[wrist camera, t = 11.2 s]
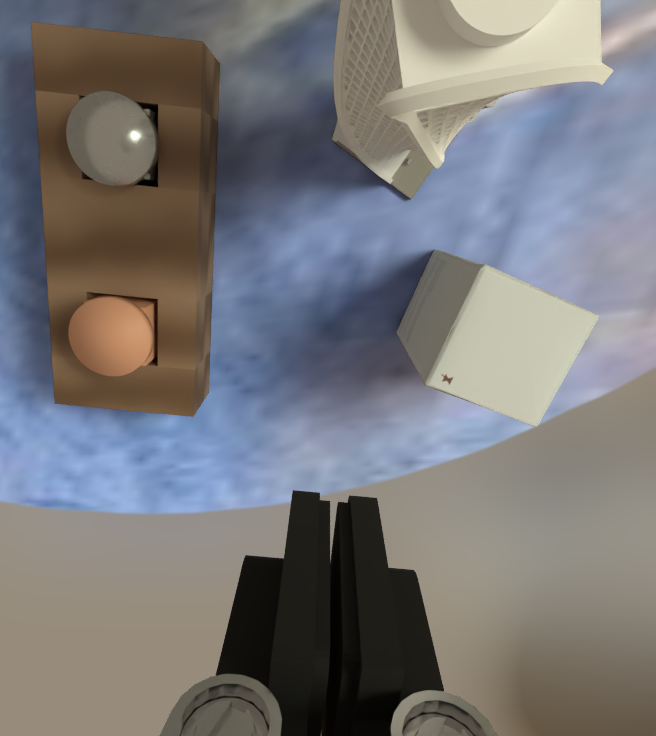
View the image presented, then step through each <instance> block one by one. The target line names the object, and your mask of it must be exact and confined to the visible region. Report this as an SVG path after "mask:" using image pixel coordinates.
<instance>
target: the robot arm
mask: <svg viewBox="0 0 656 736" xmlns="http://www.w3.org/2000/svg"><path fill="white" fill-rule="evenodd" d="M160 736H498V735H497V733H496V732H495V730H494V729H493V727H492V725H491V724H490V722H489V720H488V719H487V718H486V717H485V716H484V715H483V714H481V712H480V711H479V710H478V709H477V708H476V707H474V706H473V705H471V704H470V703H468V702H467V701H465V700H463V699H462V698H460V697H458V696H455V695H452V694H450V693H447V692H444V688H443V684H442V680H441V676H440V672H439V667H438V663H437V659H436V655H435V650H434V646H433V642H432V637H431V633H430V629H429V625H428V620H427V616H426V612H425V608H424V604H423V599H422V595H421V591H420V586H419V583H418V578H417V575H416V572H415V571H414V570H407V569H395V568H388V563H387V556H386V551H385V544H384V538H383V532H382V526H381V519H380V514H379V507H378V501H377V498H369V497H359V496H349V499H348V503H344V502H338V506H337V513H336V521H335V529H334V537H333V546H332V554H331V562H330V501H322V500H320V493H316V492H305V491H294V490H293V493H292V501H291V509H290V516H289V524H288V532H287V540H286V548H285V555H284V559H282V558H270V557H259V556H247V555H246V556H245V558H244V561H243V565H242V569H241V574H240V578H239V582H238V586H237V590H236V594H235V598H234V602H233V607H232V611H231V615H230V619H229V623H228V628H227V631H226V635H225V639H224V644H223V648H222V652H221V656H220V660H219V665H218V668H217V672H216V676H213V677H209V678H208V679H205V680H203V681H201V682H199V683H197V684H195V685H194V686H192V687H191V688H190V689H189V690H188V691H187V692H185V693H184V694H183V695H182V696H181V697H180V699H179V700H178V702H177V703H176V705H175V706H174V708H173V709H172V711H171V713H170V715H169V717H168V719H167V721H166V723H165V725H164V728H163V730H162V732H161V734H160Z"/></svg>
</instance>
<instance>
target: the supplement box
mask: <svg viewBox="0 0 656 736" xmlns="http://www.w3.org/2000/svg"><path fill="white" fill-rule="evenodd" d="M598 318H599V316H598V315H596V314H594V313H592V312H590V311H587V310H585V309H583V308H581V307H579V306H577V305H574V304H572V303H570V302H568V301H566V300H564V299H562V298H559V297H557V296H555V295H553V294H551V293H548V292H546V291H544V290H542V289H540V288H538V287H535V286H533V285H531V284H529V283H526V282H524V281H522V280H520V279H517V278H515V277H513V276H511V275H508V274H506V273H504V272H501V271H499V270H497V269H495V268H492V267H490V266H488V265H485V264H479V263H476V262H473V261H470V260H467V259H464V258H461V257H459V256H456V255H453V254H450V253H447V252H443V251H440V250H434V251H433V253H432V255H431V257H430V259H429V262H428V264H427V266H426V268H425V270H424V272H423V274H422V277H421V279H420V281H419V283H418V285H417V288H416V290H415V292H414V294H413V297H412V299H411V301H410V303H409V306H408V308H407V310H406V312H405V314H404V317H403V319H402V321H401V323H400V326H399V328H398V330H397V332H396V333H397V335H398V337H399V339H400V341H401V342H402V344H403V346H404V348H405V350H406V352H407V353H408V355H409V357H410V359H411V361H412V362H413V364H414V366H415V368H416V370H417V372H418V373H419V375H420V377H421V379H422V381H423V383H424V384H425V386H428V387H431V388H433V389H436V390H439V391H442V392H444V393H447V394H450V395H452V396H455V397H458V398H461V399H463V400H466V401H469V402H472V403H474V404H477V405H480V406H482V407H485V408H488V409H491V410H493V411H496V412H498V413H501V414H504V415H506V416H509V417H511V418H514V419H517V420H519V421H522V422H524V423H527V424H530V425H532V426H538V424H539V422H540V421H541V419H542V417H543V415H544V413H545V412H546V410H547V408H548V406H549V404H550V403H551V401H552V399H553V397H554V396H555V394H556V392H557V390H558V389H559V387H560V385H561V383H562V382H563V380H564V378H565V376H566V375H567V373H568V371H569V369H570V367H571V366H572V364H573V362H574V360H575V359H576V357H577V355H578V353H579V352H580V350H581V348H582V346H583V345H584V343H585V341H586V339H587V338H588V336H589V334H590V332H591V331H592V329H593V327H594V325H595V323H596V322H597V320H598Z"/></svg>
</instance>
